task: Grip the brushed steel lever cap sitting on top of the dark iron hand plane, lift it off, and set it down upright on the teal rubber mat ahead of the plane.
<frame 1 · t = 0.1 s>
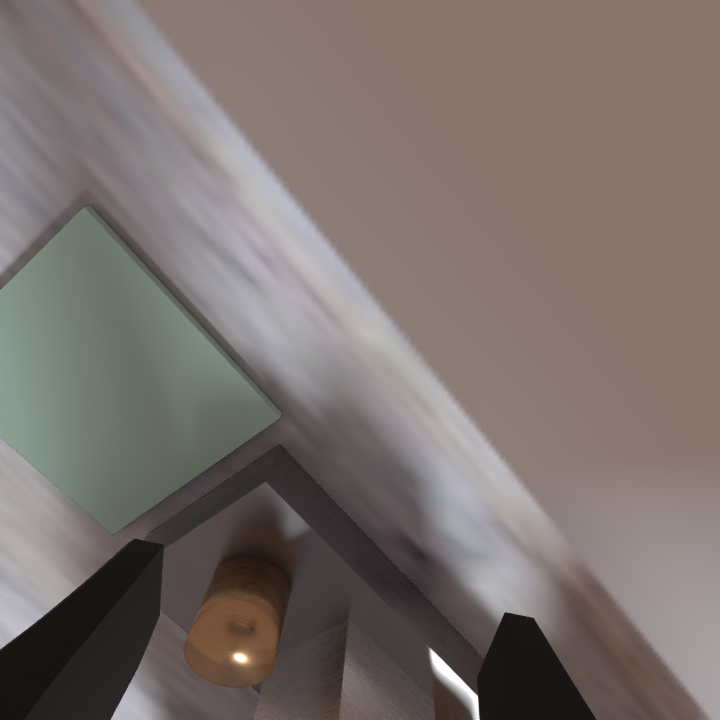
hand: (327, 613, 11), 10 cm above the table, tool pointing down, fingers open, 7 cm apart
lever cap: (351, 680, 23), point 2 cm above the table, touching hand plane
mat: (105, 389, 21), on the table
hand plane: (355, 631, 25), on the table
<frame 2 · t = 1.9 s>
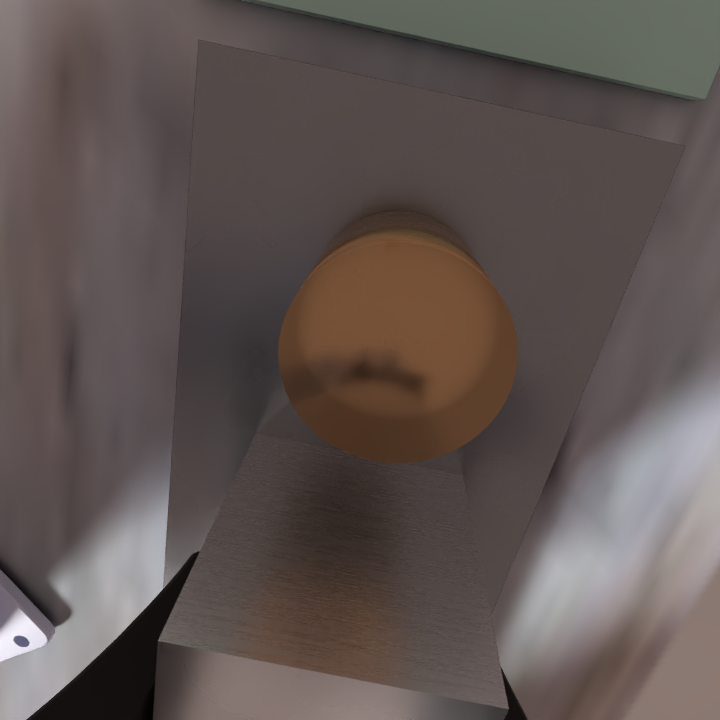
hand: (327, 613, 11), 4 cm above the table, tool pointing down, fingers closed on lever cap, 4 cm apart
lever cap: (334, 559, 12), point 2 cm above the table, touching gripper, hand plane
hand plane: (344, 493, 15), on the table
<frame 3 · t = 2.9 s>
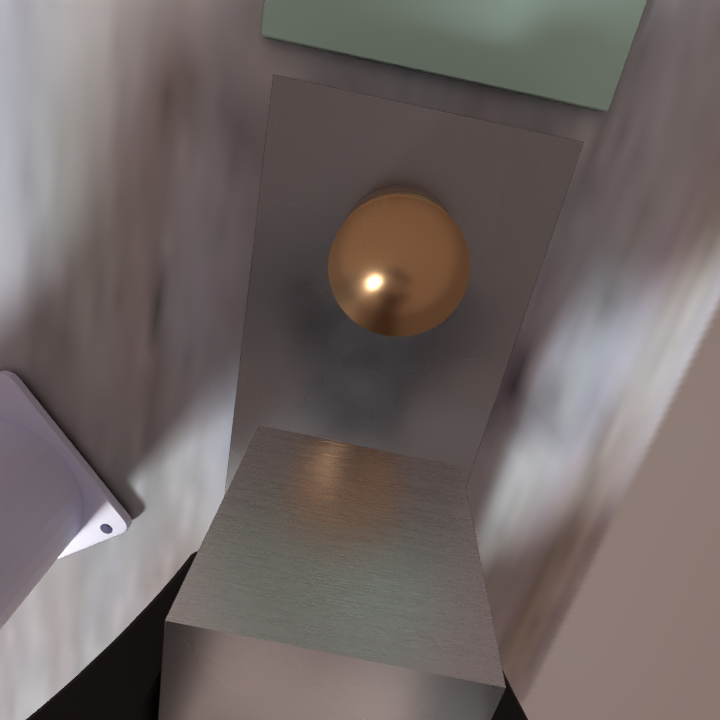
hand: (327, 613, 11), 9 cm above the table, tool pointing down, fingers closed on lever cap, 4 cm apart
lever cap: (336, 550, 13), point 8 cm above the table, touching gripper
hand plane: (358, 404, 19), on the table
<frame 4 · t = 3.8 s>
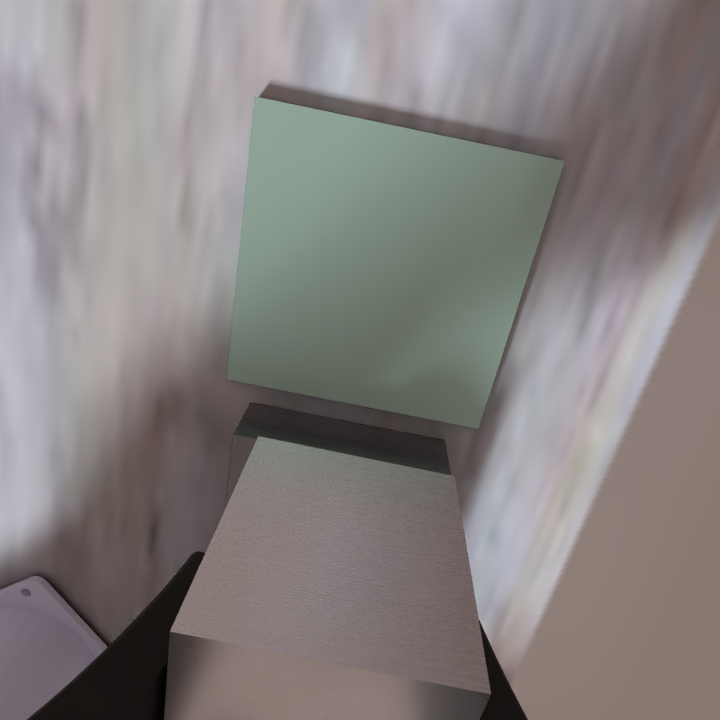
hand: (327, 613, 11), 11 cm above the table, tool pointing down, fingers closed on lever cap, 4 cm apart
lever cap: (333, 555, 13), point 8 cm above the table, touching gripper
mat: (379, 278, 19), on the table
hand plane: (310, 600, 25), on the table
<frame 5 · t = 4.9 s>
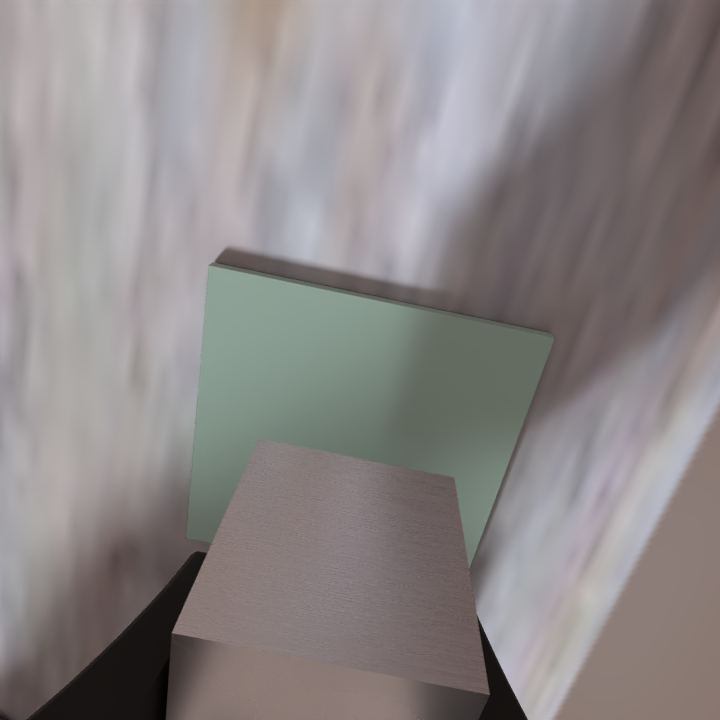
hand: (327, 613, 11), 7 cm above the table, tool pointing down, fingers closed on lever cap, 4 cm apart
lever cap: (333, 556, 13), point 5 cm above the table, touching gripper
mat: (350, 442, 17), on the table
when the fingers open (3 cm above the table, at t = 6.0 s): lever cap stays where it is, resting on mat.
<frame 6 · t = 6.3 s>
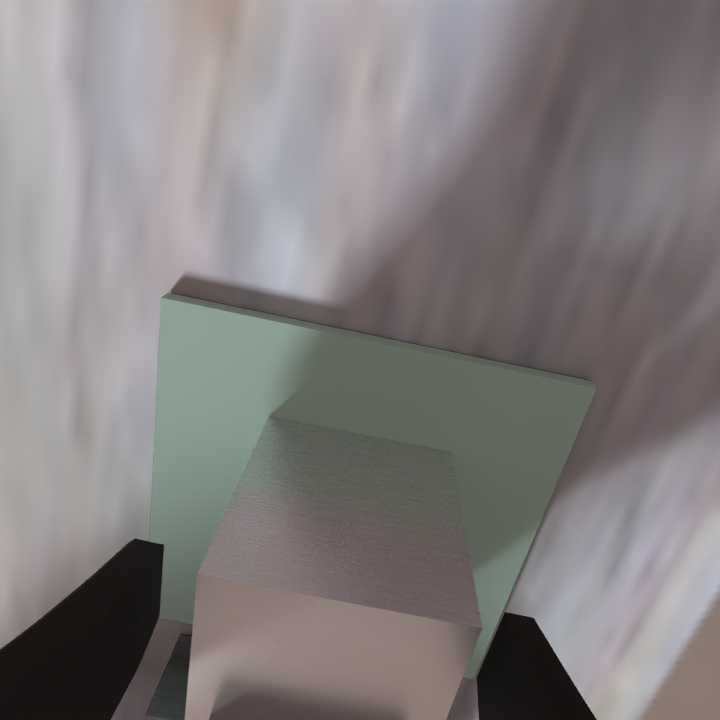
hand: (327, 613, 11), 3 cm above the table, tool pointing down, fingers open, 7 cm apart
lever cap: (339, 529, 14), resting on mat
mat: (342, 507, 14), on the table
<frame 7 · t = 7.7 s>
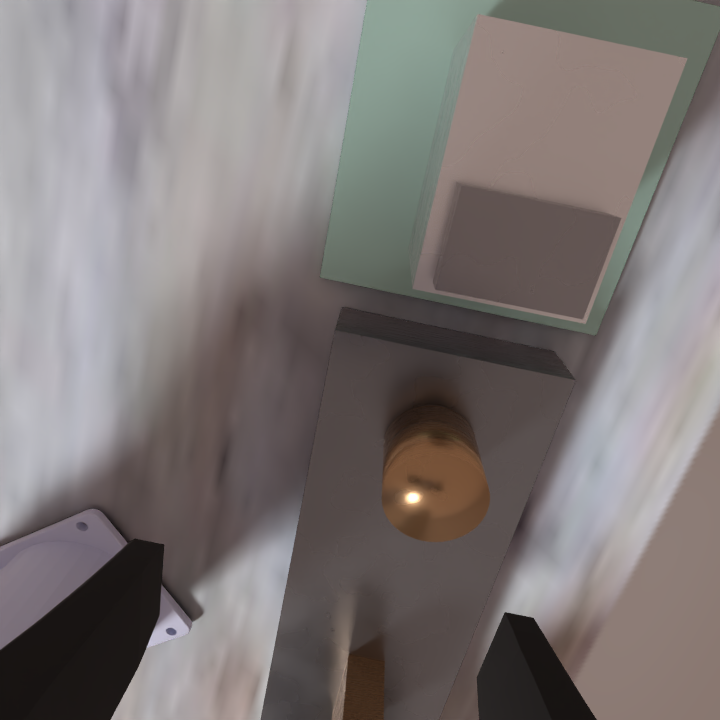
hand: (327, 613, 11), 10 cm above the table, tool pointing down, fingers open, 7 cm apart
lever cap: (498, 171, 17), resting on mat
mat: (498, 157, 17), on the table
hand plane: (389, 537, 23), on the table
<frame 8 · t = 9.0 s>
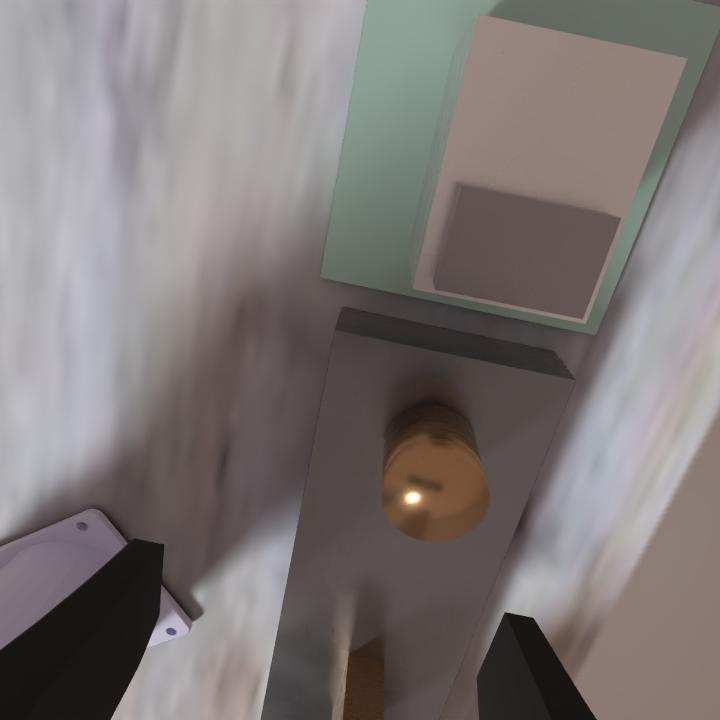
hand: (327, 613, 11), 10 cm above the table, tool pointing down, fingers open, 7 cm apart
lever cap: (498, 171, 17), resting on mat
mat: (498, 157, 17), on the table
hand plane: (389, 537, 23), on the table
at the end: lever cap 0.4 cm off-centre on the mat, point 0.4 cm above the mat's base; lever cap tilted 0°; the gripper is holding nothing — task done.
